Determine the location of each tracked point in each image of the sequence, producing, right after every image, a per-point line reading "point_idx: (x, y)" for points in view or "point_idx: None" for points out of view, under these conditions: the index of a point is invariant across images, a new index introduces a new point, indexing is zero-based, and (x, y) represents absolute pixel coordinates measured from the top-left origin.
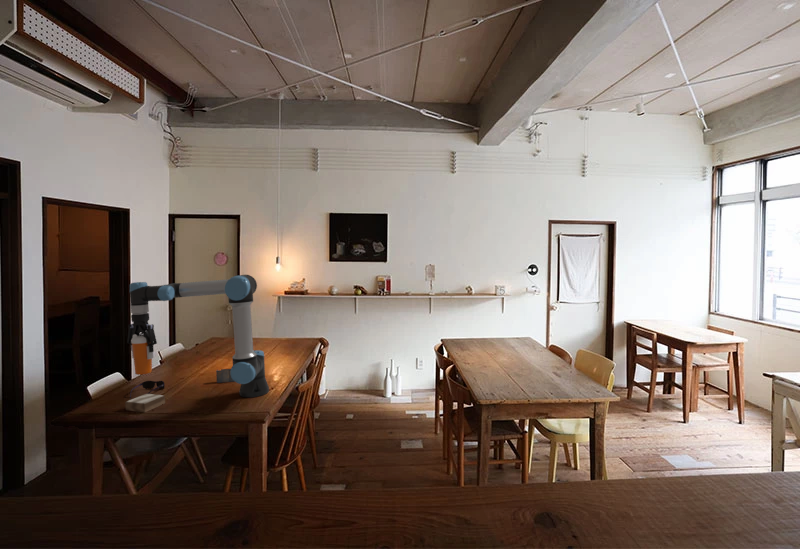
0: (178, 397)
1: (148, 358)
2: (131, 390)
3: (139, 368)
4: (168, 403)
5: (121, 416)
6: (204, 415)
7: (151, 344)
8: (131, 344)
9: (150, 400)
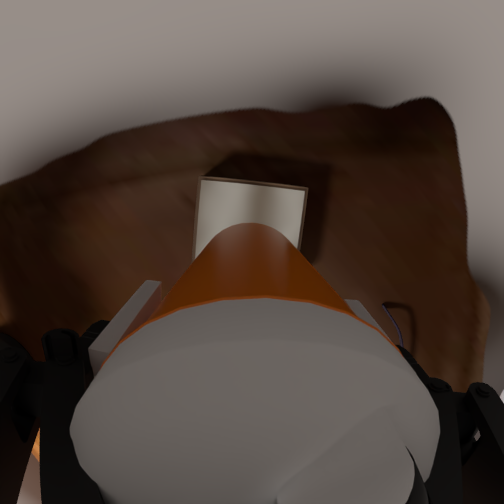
0: None
1: (145, 283)
2: (398, 330)
3: (233, 230)
4: (182, 271)
5: (265, 126)
6: (4, 192)
7: (20, 352)
8: (424, 384)
9: (201, 213)
